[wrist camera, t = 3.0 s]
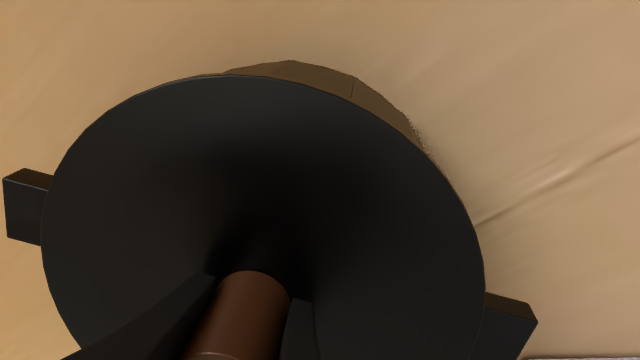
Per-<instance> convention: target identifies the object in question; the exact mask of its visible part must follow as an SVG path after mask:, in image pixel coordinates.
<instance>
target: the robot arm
mask: <svg viewBox="0 0 640 360" xmlns="http://www.w3.org/2000/svg"><path fill="white" fill-rule="evenodd" d="M215 280H216V277H214V276H211V275H207V274H203V273H200V272H195V273H193V274H192V275H190V276H189V277H188V278H187V279H186V280H184V281H183V282H182V283H181V284H179V285H178V286H177V287H176V288H174V289H173V290H172V291H170V292H169V293H168V294H167V295H165V296H164V297H163V298H161V299H160V300H158V301H157V302H156V303H154V304H153V305H152V306H150V307H149V308H147V309H146V310H145V311H143V312H142V313H140V314H139V315H137V316H136V317H134V318H133V319H131V320H130V321H128V322H127V323H125V324H123V325H122V326H120V327H119V328H117V329H116V330H114V331H112V332H111V333H109V334H107V335H106V336H104V337H102V338H101V339H99V340H97V341H95V342H94V343H92V344H90V345H88V346H86V347H84V348H83V349H81V350H79V351H77V352H75V353H73V354H71V355H69V356H67V357H65V358H63V359H61V360H179V358H180V356H181V354H182V352H183V350H184V349H185V347H186V345H187V343H188V341H189V339H190V337H191V336H192V334H193V332H194V330H195V328H196V326H197V325H198V323H199V321H200V319H201V317H202V315H203V313H204V312H205V310H206V308H207V306H208V304H209V302H210V300H211V299H212V297H213V292H214V286H215ZM278 360H321V355H320V350H319V345H318V339H317V332H316V324H315V306H314V305H313V303H311V302H307V301H303V300H300V299H296V298H293V299H292V303H291V307H290V310H289V314H288V318H287V322H286V325H285V329H284V333H283V337H282V341H281V346H280V351H279V356H278ZM529 360H640V357H633V358H568V359H529Z"/></svg>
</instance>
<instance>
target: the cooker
mask: <svg viewBox="0 0 640 360" xmlns="http://www.w3.org/2000/svg"><path fill="white" fill-rule="evenodd" d="M227 72H245V73H262V74H272V75H277V76H282V77H287V78H292V79H297V80H303V81H306V82H309V83H312V84H315V85H318V86H321V87H324V88H327V89H330V90H333V91H336V92H338V93H341V94H343V95H345V96H347V97H349V98H351V99H353V100H355V101H357V102H359V103H361V104H363V105H365V106H367V107H369V108H371V109H372V110H374V111H375V112H377V113H378V114H380V115H381V116H383V117H384V118H386V119H387V120H389V121H390V122H392V123H393V124H395V125H396V126H398V127H399V128H400V129H401V130H402V131H404V132H405V133H406V134H407V135H408V136H409V137H410V138H412V139H413V140H414V141H415V142H416V143H417V144H418V145H419V146H421V147H422V145H421V143H420V141H419V139H418V137H417V136H416V134H415V132H414V130H413V129H412V127H411V125H410V123H409V121H408V119H407V118H406V117H405V115H404V114H403V113H401V112H400V111H399V110H397V109H396V108H395V107H394V106H393V105H392V104H391V103H389V102H388V101H387V100H386V99H385V98H384V97H383V96H382V95H380V94H379V93H377V92H376V91H375V90H373V89H372V88H370V87H369V86H367V85H366V84H364V83H363V82H361V81H360V80H359V79H358V78H356V77H354V76H351V75H347V74H344V73H341V72H338V71H335V70H332V69H329V68H326V67H323V66H318V65H312V64H307V63H302V62H298V61H294V60H292V61H291V60H288V61H281V62H273V63H262V64H258V65H253V66H248V67H241V68H235V69H230V70H228V71H226V72H223V73H227ZM422 148H423V147H422ZM52 178H53V175H49V174H45V173H42V172H38V171H34V170H30V169H27V168H23V169H21V170H19V171H17V172H14V173H12V174H10V175H8V176H6V177H4V178H3V179H2V183H3V194H4V206H5V218H6V230H7V237H8V238H12V239H15V240H19V241H23V242H26V243H30V244H34V245H38V246H41V219H42V214H43V208H44V203H45V198H46V194H47V192H48V189H49V186H50V184H51V181H52ZM537 324H538V320H537V319H536V317H535V315H534V313H533V311H532V309H531V307H530V306H529V304H528V303H525V302H522V301H518V300H514V299H510V298H507V297H503V296H499V295H496V294H492V293H488V292H485V303H484V314H483V318H482V322H481V326H480V330H479V334H478V338H477V340H476V342H475V345H474V347H473V349H472V352H471V354H470V356H469V359H468V360H516V359H517V358H518V356H519V354H520V353H521V351H522V349H523V348H524V346H525V344H526V343H527V341H528V339H529V338H530V336H531V334H532V333H533V331H534V329H535V328H536V326H537Z"/></svg>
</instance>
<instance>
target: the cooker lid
mask: <svg viewBox="0 0 640 360" xmlns="http://www.w3.org/2000/svg"><path fill="white" fill-rule="evenodd" d="M41 252H42V260H43V268H44V271H45V275H46V279H47V283H48V287H49V290H50V293H51V295H52V298H53V300H54V302H55V305H56V307H57V310H58V312H59V314H60V316H61V318H62V319H63V321H64V323H65V325H66V327H67V328H68V330H69V332H70V333H71V335H72V336H73V338H74V339H75V340H76V342H77V343H78V345H79V346H80V347H81V349H83V348H84V347H86V346H88V345H90V344H92V343H94V342H95V341H97V340H99V339H101V338H102V337H104V336H106V335H107V334H109V333H111V332H112V331H114V330H116V329H117V328H119V327H120V326H122V325H123V324H125V323H127V322H128V321H130V320H131V319H133V318H134V317H136V316H137V315H139V314H140V313H142V312H143V311H145V310H146V309H147V308H149V307H150V306H152V305H153V304H154V303H156V302H157V301H158V300H160V299H161V298H163V297H164V296H165V295H167V294H168V293H169V292H170V291H172V290H173V289H174V288H176V287H177V286H178V285H179V284H181V283H182V282H183V281H184V280H186V279H187V278H188V277H189V276H190V275H192V274H193V273H195V272H200V273H203V274H207V275H211V276H214V277H216V280H215V286H214V292H213V297H212V299H211V300H210V302H209V304H208V306H207V308H206V310H205V312H204V313H203V315H202V317H201V319H200V321H199V323H198V325H197V326H196V328H195V330H194V332H193V334H192V336H191V337H190V339H189V341H188V343H187V345H186V347H185V349H184V350H183V352H182V354H181V356H180V358H179V360H278V356H279V351H280V346H281V341H282V337H283V333H284V329H285V325H286V322H287V318H288V314H289V310H290V307H291V303H292V299H293V298H296V299H300V300H303V301H307V302H311V303H313V305H314V306H315V324H316V332H317V339H318V345H319V350H320V355H321V360H468V359H469V356H470V354H471V352H472V349H473V347H474V345H475V342H476V340H477V338H478V334H479V330H480V326H481V322H482V318H483V314H484V303H485V290H486V285H485V274H484V263H483V258H482V254H481V250H480V246H479V242H478V238H477V235H476V232H475V230H474V227H473V225H472V223H471V220H470V218H469V216H468V214H467V211H466V209H465V207H464V205H463V202H462V200H461V199H460V197H459V196H458V194H457V192H456V191H455V189H454V188H453V186H452V184H451V183H450V181H449V180H448V178H447V176H446V175H445V174H444V172H443V171H442V170H441V169H440V168H439V167H438V165H437V164H436V163H435V162H434V161H433V159H432V158H431V157H430V156H429V155H428V154H427V152H426V151H425V150H424V149H423V148H422V147H421V146H419V145H418V144H417V143H416V142H415V141H414V140H413V139H412V138H410V137H409V136H408V135H407V134H406V133H405V132H404V131H402V130H401V129H400V128H399V127H398V126H396V125H395V124H393V123H392V122H390V121H389V120H387V119H386V118H384V117H383V116H381V115H380V114H378V113H377V112H375V111H374V110H372V109H371V108H369V107H367V106H365V105H363V104H361V103H359V102H357V101H355V100H353V99H351V98H349V97H347V96H345V95H343V94H341V93H338V92H336V91H333V90H330V89H327V88H324V87H321V86H318V85H315V84H312V83H309V82H306V81H303V80H297V79H292V78H287V77H282V76H277V75H272V74H262V73H245V72H227V73H214V74H201V75H197V76H192V77H188V78H183V79H179V80H174V81H170V82H167V83H164V84H162V85H159V86H157V87H154V88H151V89H149V90H146V91H144V92H141V93H139V94H136V95H134V96H132V97H130V98H128V99H127V100H125V101H123V102H122V103H120V104H118V105H116V106H115V107H113V108H111V109H110V110H108V111H107V112H105V113H104V114H103V115H102V116H101V117H99V118H98V119H97V120H96V121H95V122H93V123H92V124H91V125H90V126H89V127H87V128H86V129H85V130H84V132H83V133H82V134H81V135H80V136H79V137H78V139H77V140H76V141H75V142H74V143H73V144H72V146H71V147H70V148H69V149H68V151H67V152H66V154H65V156H64V158H63V159H62V161H61V163H60V164H59V166H58V168H57V169H56V171H55V173H54V176H53V178H52V181H51V184H50V186H49V189H48V192H47V194H46V198H45V203H44V208H43V214H42V219H41Z"/></svg>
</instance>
